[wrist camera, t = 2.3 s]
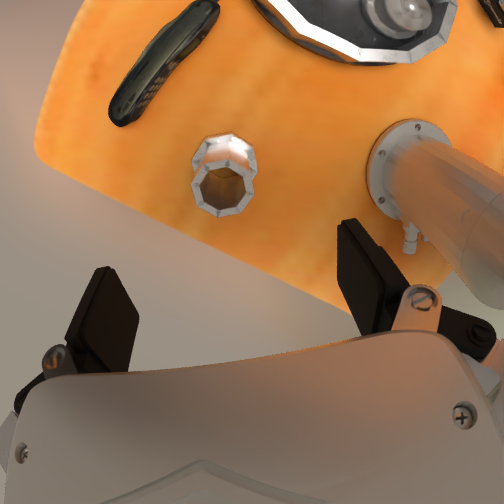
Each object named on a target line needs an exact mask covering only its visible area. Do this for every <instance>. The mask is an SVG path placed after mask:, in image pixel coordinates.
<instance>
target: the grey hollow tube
mask: <svg viewBox="0 0 504 504" xmlns="http://www.w3.org/2000/svg"><path fill="white" fill-rule="evenodd" d="M191 162H192V166H193V170H194V173H195V174H194V177H193V179H192V182H191V187H192V191H193V194H194V197H195V201H196V204H197V206H198V207H199V208H201V209H203V210H205V211H207V212H208V213H210V214H212V215H214V216H216V217H217V218H218V217H223V216H228V215H233V214H238V213H241V212H242V211H243V209H244V208H245V207H246V205H247V204H248V203H249V201H250V200H251V199H252V197H253V196H254V195H255V194H254V188H253V183H252V180H253V178H254V177H255V176H256V174H257V173H258V169H257V164H256V159H255V153H254V148H253V145H252V144H251V143H249V142H248V141H246V140H245V139H243V138H242V137H240V136H238V135H237V134H235V133H233V132H232V131H230V132H225V133H220V134H216V135H211V136H207V137H206V138H205V139H204V141H203V142H202V144H201V146H200V147H199V149H198V150H197V152H196V153H195V155H194V157H193V159H192V161H191ZM223 167H228V168H230V169H232V170H233V171H235V172H237V174H236V176H233V177H228V178H223V179H222V178H220V177H218V176H217V175H215V174H213V173H211V172H210V170H214V169H219V168H223Z"/></svg>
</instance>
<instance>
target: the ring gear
mask: <svg viewBox="0 0 504 504" xmlns="http://www.w3.org/2000/svg"><path fill="white" fill-rule="evenodd" d="M256 1H257V2H258V3H259V4H260V5H262V6H263V7H264V8H265V9H266V10H267V11H268V12H269V13H270V14H271V15H272V16H273V17H274V18H275V19H276V20H277V22H278V23H279V24H280V25H281V26H282V27H283V28H284V29H285V30H286V31H287V32H288V33H289V34H290V35H291V37H292V38H295V39H297V40H300V41H302V42H305V43H307V44H309V45H312V46H314V47H316V48H319V49H321V50H323V51H325V52H327V53H329V54H332V55H334V56H336V57H338V58H340V59H342V60H344V61H346V62H384V63H408V64H413V63H414V62H416V61H417V60H419V59H421V58H422V57H424V56H425V55H427V54H429V53H430V52H432V51H434V50H435V49H437V48H439V47H440V46H442V45H444V44H445V43H446V42H447V39H448V36H449V33H450V30H451V27H452V24H453V21H454V17H455V14H456V11H457V7H458V6H457V2H456V0H432V3H433V5H432V8H431V12H432V20H431V23H430V25H429V26H428V27H427V28H426V29H424V31H423V34H422V35H421V36H419V37H417V38H415V39H414V40H412V41H410V42H409V43H407V44H405V45H403V46H402V47H400V48H398V49H397V50H384V49H361V48H359V47H357V46H355V45H353V44H352V43H350V42H348V41H346V40H344V39H342V38H340V37H338V36H336V35H334V34H332V33H329V32H327V31H325V30H323V29H321V28H319V27H316V26H314V25H312V24H309V23H308V22H307V21H306V20H305V19H304V18H303V17H302V16H301V15H300V14H299V13H298V11H297V10H296V9H295V8H294V7H293V6H292V5H291V4H290V3H289V2H288V1H287V0H256Z"/></svg>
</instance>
